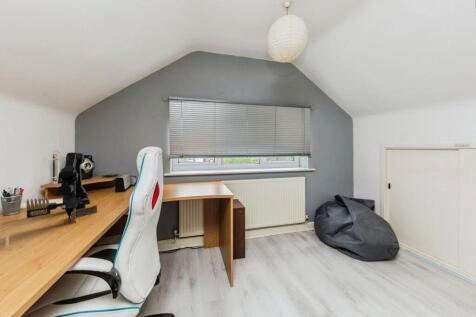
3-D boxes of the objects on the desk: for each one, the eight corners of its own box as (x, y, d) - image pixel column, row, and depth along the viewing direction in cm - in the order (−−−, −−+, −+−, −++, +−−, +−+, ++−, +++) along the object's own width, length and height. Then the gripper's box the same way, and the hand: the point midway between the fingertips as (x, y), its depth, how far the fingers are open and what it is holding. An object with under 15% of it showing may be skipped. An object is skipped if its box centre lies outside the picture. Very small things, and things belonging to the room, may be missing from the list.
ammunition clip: (26, 218, 121) (24, 199, 120) (27, 217, 122) (25, 199, 121) (50, 214, 127) (48, 196, 126) (50, 213, 129) (49, 196, 128)
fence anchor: (72, 217, 121) (71, 209, 121) (96, 211, 130) (95, 204, 130) (73, 217, 120) (72, 210, 119) (97, 212, 129) (96, 205, 129)
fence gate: (71, 223, 111) (70, 215, 111) (72, 217, 120) (71, 210, 119) (75, 222, 113) (75, 214, 112) (76, 217, 121) (76, 210, 120)
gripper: (47, 197, 101) (48, 226, 101) (92, 192, 114) (92, 218, 115) (46, 193, 108) (46, 221, 109) (88, 188, 122) (88, 213, 123)
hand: (69, 218), depth 114 cm, fingers closed
